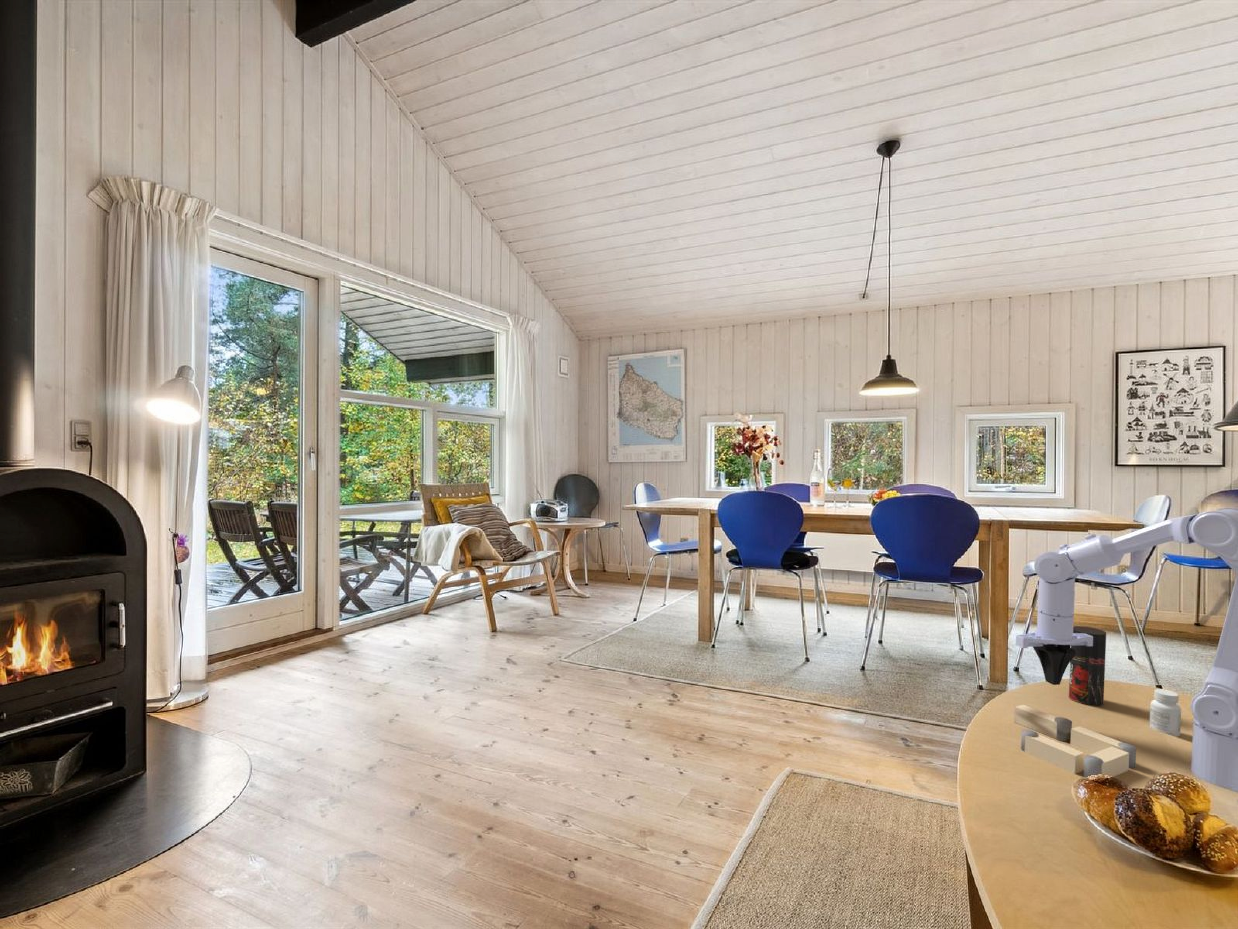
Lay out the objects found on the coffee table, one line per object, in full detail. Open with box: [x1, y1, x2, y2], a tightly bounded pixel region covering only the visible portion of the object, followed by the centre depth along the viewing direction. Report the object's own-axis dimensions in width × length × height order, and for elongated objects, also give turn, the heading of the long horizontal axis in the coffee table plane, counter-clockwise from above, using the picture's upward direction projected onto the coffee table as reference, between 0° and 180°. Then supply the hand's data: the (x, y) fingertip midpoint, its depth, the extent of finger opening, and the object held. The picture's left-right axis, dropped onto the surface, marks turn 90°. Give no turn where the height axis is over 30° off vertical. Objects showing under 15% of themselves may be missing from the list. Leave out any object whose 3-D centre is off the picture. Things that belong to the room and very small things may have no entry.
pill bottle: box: [1149, 688, 1182, 738], centre depth 119 cm, size 4×4×8 cm
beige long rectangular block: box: [1013, 704, 1073, 743], centre depth 118 cm, size 9×3×3 cm, turn 26°
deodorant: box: [1068, 625, 1107, 707], centre depth 134 cm, size 6×6×15 cm
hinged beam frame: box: [1020, 725, 1137, 778], centre depth 108 cm, size 13×13×4 cm
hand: (1052, 683), depth 122 cm, fingers closed
